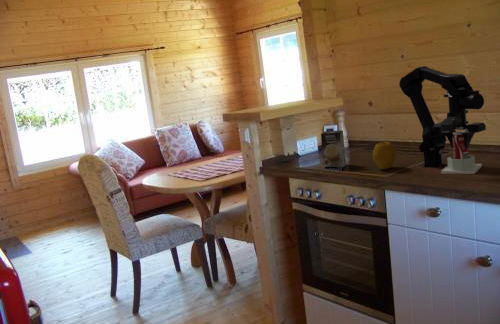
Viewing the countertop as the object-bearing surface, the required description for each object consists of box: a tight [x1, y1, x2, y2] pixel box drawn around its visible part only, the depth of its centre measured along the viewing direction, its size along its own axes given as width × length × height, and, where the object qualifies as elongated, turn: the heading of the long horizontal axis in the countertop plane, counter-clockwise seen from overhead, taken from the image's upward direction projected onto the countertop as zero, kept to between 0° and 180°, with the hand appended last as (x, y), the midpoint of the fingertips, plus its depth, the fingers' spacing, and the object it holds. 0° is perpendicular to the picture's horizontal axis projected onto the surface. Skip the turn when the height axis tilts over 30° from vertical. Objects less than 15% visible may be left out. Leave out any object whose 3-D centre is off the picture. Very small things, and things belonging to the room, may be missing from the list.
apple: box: [372, 141, 397, 170], centre depth 218 cm, size 10×10×12 cm
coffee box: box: [320, 130, 347, 168], centre depth 237 cm, size 9×6×16 cm
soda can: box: [452, 130, 469, 159], centre depth 197 cm, size 5×5×12 cm
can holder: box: [440, 154, 483, 175], centre depth 199 cm, size 12×12×5 cm
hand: (459, 149), depth 198 cm, fingers closed on soda can, 5 cm apart
